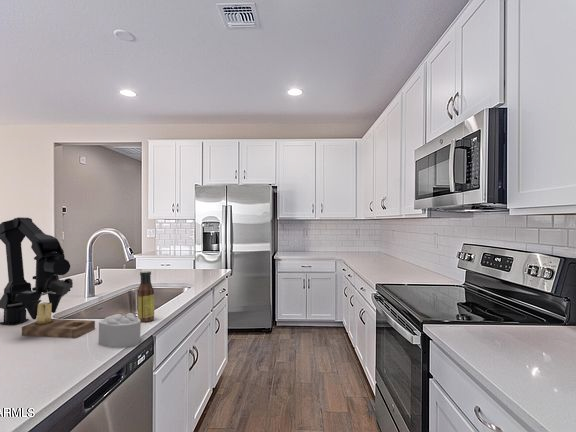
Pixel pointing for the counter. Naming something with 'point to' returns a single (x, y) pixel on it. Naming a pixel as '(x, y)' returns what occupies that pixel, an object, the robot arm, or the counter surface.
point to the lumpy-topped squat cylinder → (119, 331)
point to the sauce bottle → (145, 298)
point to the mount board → (59, 328)
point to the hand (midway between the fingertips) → (44, 315)
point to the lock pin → (44, 313)
